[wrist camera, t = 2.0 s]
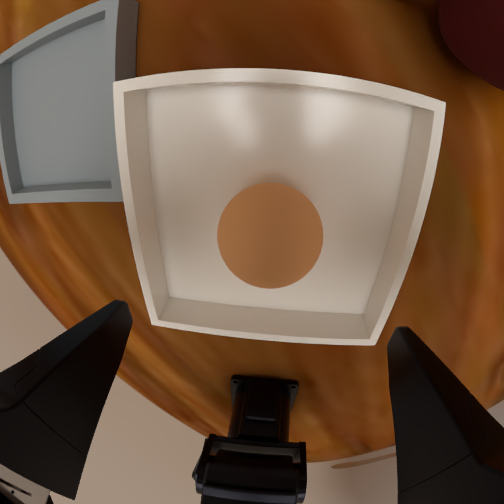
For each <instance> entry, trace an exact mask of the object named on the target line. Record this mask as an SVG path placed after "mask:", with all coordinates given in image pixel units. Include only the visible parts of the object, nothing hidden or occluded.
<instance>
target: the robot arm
mask: <svg viewBox="0 0 504 504" xmlns="http://www.w3.org/2000/svg"><path fill="white" fill-rule="evenodd" d="M132 323H133V320H132V316H131V313H130V310H129V307H128V304H127V302H125V301H121V300H114V301H112V302H111V303H109V304H108V305H106V306H104V307H103V308H101V309H100V310H98V311H97V312H95V313H93V314H92V315H90V316H89V317H87V318H86V319H84V320H82V321H81V322H79V323H78V324H76V325H75V326H73V327H72V328H70V329H68V330H67V331H66V332H64V333H63V334H61V335H59V336H58V337H56V338H55V339H53V340H52V341H50V342H49V343H47V344H46V345H44V346H43V347H41V348H40V349H38V350H37V351H35V352H34V353H32V354H31V355H29V356H27V357H26V358H24V359H23V360H21V361H20V362H18V363H16V364H14V365H13V366H11V367H10V368H7V369H6V370H4V371H2V372H0V504H53V501H52V499H51V496H50V495H49V493H50V491H53V492H55V493H57V494H60V495H62V496H65V497H67V498H70V499H72V500H75V497H76V494H77V490H78V486H79V483H80V479H81V475H82V472H83V468H84V465H85V461H86V458H87V454H88V451H89V448H90V445H91V442H92V439H93V436H94V433H95V430H96V427H97V424H98V421H99V418H100V415H101V412H102V409H103V407H104V404H105V401H106V399H107V396H108V393H109V391H110V388H111V386H112V383H113V380H114V378H115V375H116V373H117V370H118V368H119V365H120V363H121V360H122V357H123V354H124V350H125V347H126V343H127V340H128V337H129V333H130V330H131V327H132ZM387 354H388V370H389V389H390V397H391V404H392V412H393V421H394V431H395V442H396V456H397V477H398V492H399V493H398V504H504V428H503V427H502V426H501V425H500V424H499V423H498V422H497V421H496V420H495V419H494V418H493V417H492V416H491V415H490V414H489V413H488V411H487V410H486V409H485V408H484V407H483V406H482V405H481V404H480V403H479V402H478V401H477V399H476V398H475V397H474V396H473V395H472V394H470V392H469V390H468V389H467V388H466V387H465V386H464V385H463V384H462V383H461V382H460V380H459V379H458V378H457V377H456V376H455V375H454V374H453V373H452V372H451V371H450V369H449V368H448V367H447V366H446V365H445V364H444V363H443V362H442V361H441V360H440V359H439V358H438V357H437V356H436V355H435V353H434V352H433V351H432V350H431V349H430V348H429V347H428V346H427V345H426V344H425V343H424V342H423V341H422V340H421V339H420V338H419V337H418V336H417V335H416V334H415V333H414V332H413V331H412V330H411V329H410V328H409V327H407V326H398V327H396V329H395V330H394V332H393V334H392V336H391V338H390V340H389V342H388V346H387ZM298 388H299V383H298V382H296V381H282V380H270V379H259V378H249V377H240V376H232V377H231V396H232V406H233V410H232V415H231V421H230V426H229V431H228V437H224V436H217V435H216V434H210V435H209V438H206V439H205V442H204V447H203V451H202V454H201V456H200V458H199V460H198V462H197V464H196V466H195V469H194V471H193V473H192V478H193V479H194V480H195V482H196V491H197V493H198V494H202V496H201V504H297V503H298V504H302V503H303V501H304V498H305V493H306V486H307V464H306V442H299V443H295V442H288V441H289V424H290V412H291V409H292V406H293V403H294V400H295V397H296V394H297V391H298Z"/></svg>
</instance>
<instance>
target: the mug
mask: <svg viewBox="0 0 504 504" xmlns="http://www.w3.org/2000/svg"><path fill="white" fill-rule="evenodd" d="M435 1H437V2H438V3H439V17H438V24H439V30H440V33H441V36H442V38H443V40H444V42H445V44H446V46H447V47H448V49H449V50H450V51H451V52H452V54H453V55H454V56H455V57H456V58H457V59H458V60H460V61H461V62H462V63H463V64H464V65H465V66H466V67H468V68H469V69H470V70H471V71H472V72H474V73H475V74H476V75H477V76H479V77H480V78H481V79H483V80H484V81H486V82H488V83H489V84H491V85H493V86H495V87H497V88H499V89H502V90H504V0H435Z"/></svg>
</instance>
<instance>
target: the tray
mask: <svg viewBox="0 0 504 504" xmlns="http://www.w3.org/2000/svg"><path fill="white" fill-rule="evenodd" d="M138 6H139V2H137V1H135V0H101V1H98V2H95V3H93V4H90V5H88V6H86V7H83V8H81V9H79V10H76V11H74V12H72V13H70V14H68V15H66V16H64V17H62V18H60V19H58V20H56V21H54V22H52V23H50V24H48V25H46V26H44V27H43V28H41V29H39V30H37V31H36V32H34V33H32V34H31V35H29V36H27V37H26V38H24V39H23V40H21V41H19V42H18V43H16V44H15V45H13V46H12V47H10V48H9V49H8V50H6V51H5V52H3V53H2V54H1V55H0V162H1V168H2V173H3V178H4V183H5V187H6V192H7V196H8V200H9V204H16V203H42V202H124V200H123V194H122V187H121V180H120V172H119V164H118V155H117V145H116V134H115V120H114V100H113V82H116V81H121V80H126V79H131V78H136V37H137V19H138Z"/></svg>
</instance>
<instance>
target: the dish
mask: <svg viewBox="0 0 504 504" xmlns="http://www.w3.org/2000/svg"><path fill="white" fill-rule="evenodd" d="M113 100H114V120H115V134H116V145H117V155H118V164H119V172H120V180H121V187H122V194H123V200H124V207H125V212H126V218H127V224H128V229H129V234H130V239H131V244H132V249H133V253H134V258H135V262H136V267H137V271H138V275H139V279H140V283H141V287H142V291H143V295H144V299H145V302H146V306H147V309H148V313H149V316H150V320H151V323H152V325H157V326H162V327H168V328H174V329H180V330H186V331H193V332H200V333H207V334H214V335H222V336H230V337H239V338H248V339H258V340H268V341H280V342H294V343H310V344H332V345H375V344H376V342H377V340H378V338H379V336H380V334H381V331H382V329H383V327H384V325H385V323H386V321H387V318H388V316H389V314H390V312H391V309H392V307H393V305H394V302H395V300H396V297H397V295H398V293H399V290H400V287H401V285H402V282H403V280H404V277H405V274H406V272H407V269H408V266H409V264H410V261H411V258H412V255H413V252H414V249H415V246H416V243H417V240H418V237H419V233H420V230H421V227H422V223H423V220H424V216H425V213H426V209H427V205H428V201H429V197H430V193H431V189H432V185H433V181H434V176H435V171H436V166H437V161H438V156H439V150H440V144H441V138H442V131H443V124H444V116H445V107H446V102H443V101H440V100H437V99H434V98H431V97H428V96H425V95H422V94H418V93H415V92H412V91H408V90H404V89H401V88H397V87H393V86H389V85H385V84H380V83H376V82H371V81H367V80H362V79H356V78H351V77H345V76H339V75H332V74H325V73H317V72H307V71H297V70H283V69H262V68H225V69H204V70H190V71H180V72H171V73H163V74H155V75H149V76H143V77H137V78H131V79H126V80H121V81H116V82H113ZM260 183H280V184H284V185H288V186H290V187H293V188H295V189H296V190H298V191H300V192H301V193H302V194H304V195H305V196H306V197H307V198H308V199H309V200H310V201H311V202H312V204H313V205H314V206H315V208H316V210H317V212H318V214H319V216H320V219H321V222H322V226H323V245H322V249H321V253H320V255H319V258H318V260H317V262H316V263H315V265H314V267H313V268H312V269H311V270H310V271H309V272H308V273H307V274H306V275H305V276H304V277H303V278H302V279H300V280H299V281H297V282H295V283H293V284H291V285H289V286H285V287H282V288H275V289H265V288H259V287H255V286H252V285H249V284H247V283H245V282H244V281H242V280H240V279H239V278H238V277H237V276H235V275H234V274H233V273H232V272H231V271H230V270H229V268H228V267H227V266H226V264H225V262H224V260H223V259H222V256H221V254H220V251H219V247H218V241H217V230H218V224H219V220H220V217H221V215H222V212H223V210H224V209H225V207H226V206H227V204H228V203H229V202H230V200H231V199H232V198H233V197H234V196H235V195H237V194H238V193H239V192H241V191H242V190H244V189H246V188H248V187H250V186H253V185H256V184H260Z"/></svg>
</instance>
